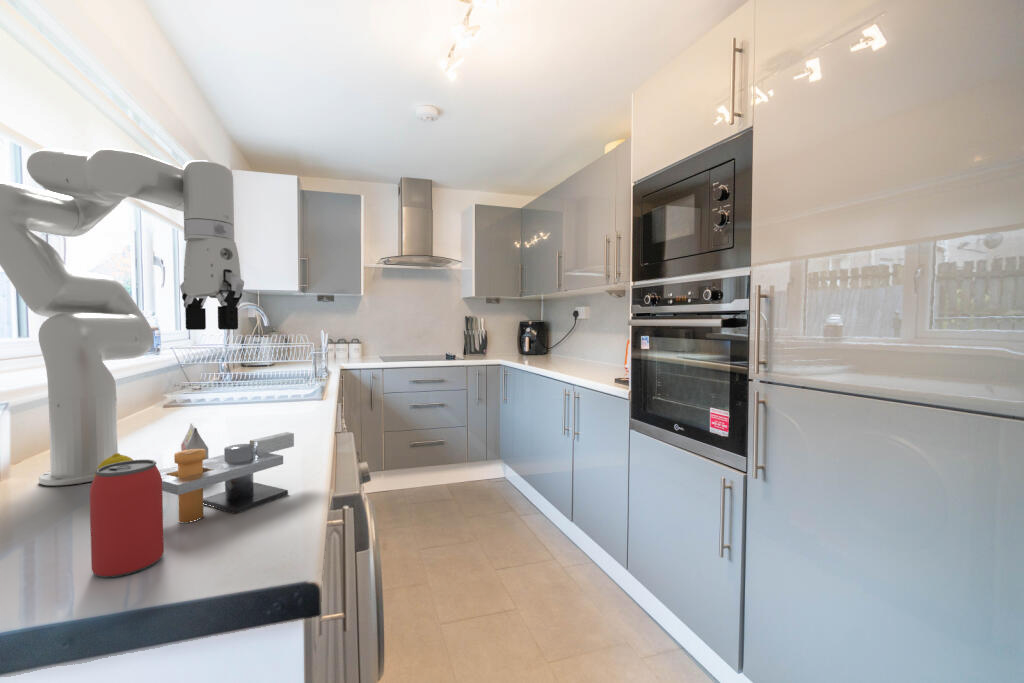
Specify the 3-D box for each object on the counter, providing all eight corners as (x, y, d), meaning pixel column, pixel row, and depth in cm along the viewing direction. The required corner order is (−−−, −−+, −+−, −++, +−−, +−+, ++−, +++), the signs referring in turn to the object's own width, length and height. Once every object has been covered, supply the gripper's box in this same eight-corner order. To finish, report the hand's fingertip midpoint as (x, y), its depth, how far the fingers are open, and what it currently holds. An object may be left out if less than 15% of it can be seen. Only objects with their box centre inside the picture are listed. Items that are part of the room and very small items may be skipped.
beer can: (121, 552, 57) (118, 458, 57) (176, 550, 58) (174, 457, 58) (75, 581, 51) (72, 475, 50) (138, 578, 51) (135, 473, 51)
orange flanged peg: (197, 512, 70) (196, 447, 70) (212, 516, 69) (211, 450, 68) (169, 521, 67) (168, 453, 67) (184, 526, 65) (183, 456, 65)
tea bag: (204, 471, 91) (203, 421, 91) (208, 479, 86) (207, 426, 85) (181, 474, 88) (180, 423, 88) (184, 483, 83) (183, 429, 83)
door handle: (142, 522, 66) (140, 458, 66) (273, 479, 85) (272, 430, 85) (179, 535, 62) (177, 467, 62) (309, 487, 81) (308, 435, 81)
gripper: (260, 233, 81) (262, 329, 81) (203, 242, 89) (205, 329, 89) (217, 224, 74) (219, 329, 75) (159, 235, 82) (161, 329, 82)
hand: (211, 329), depth 82 cm, fingers open, 9 cm apart
